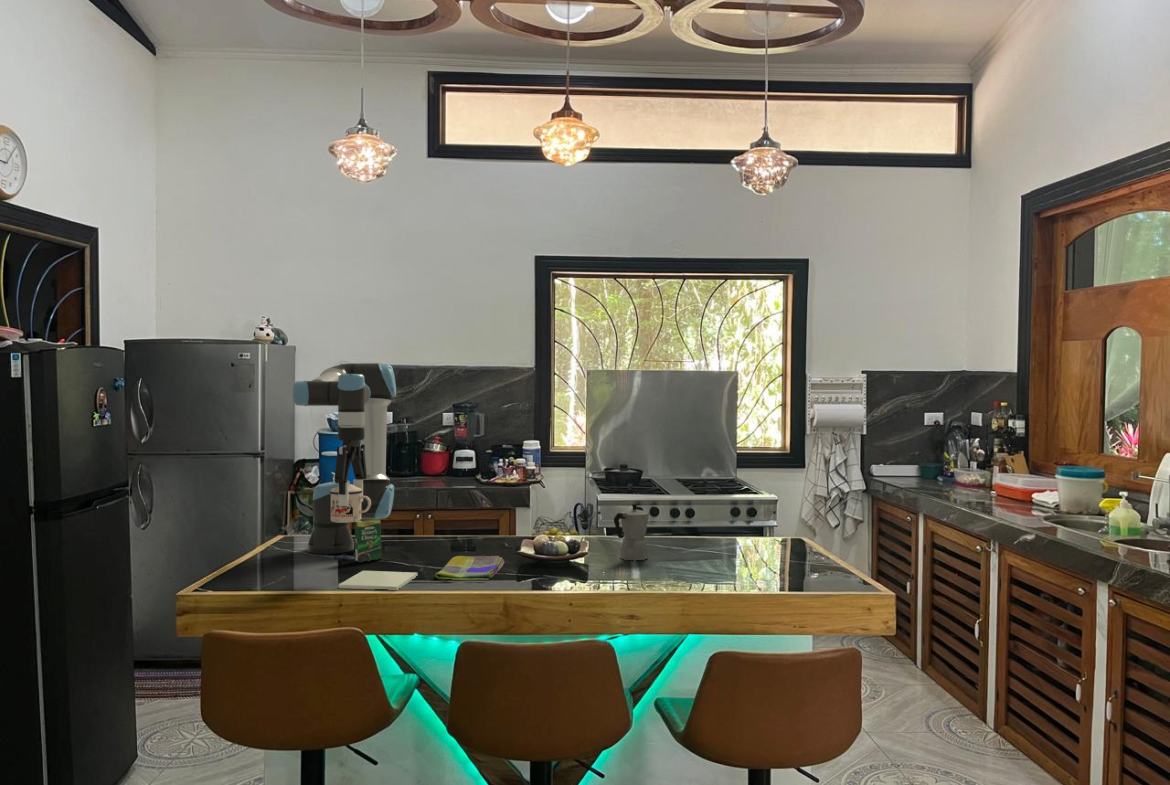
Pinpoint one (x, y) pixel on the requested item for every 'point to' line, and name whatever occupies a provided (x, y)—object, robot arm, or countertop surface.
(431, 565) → the countertop surface
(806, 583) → the countertop surface
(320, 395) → the robot arm
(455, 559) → the dish towel
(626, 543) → the coffeepot
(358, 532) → the coffee box
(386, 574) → the tile
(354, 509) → the teacup with lid
